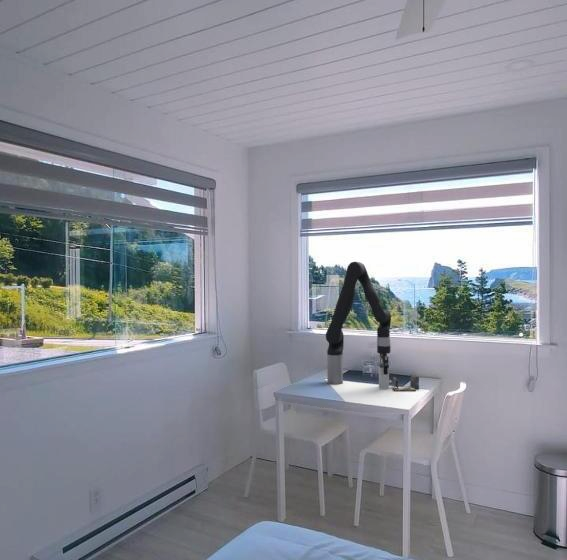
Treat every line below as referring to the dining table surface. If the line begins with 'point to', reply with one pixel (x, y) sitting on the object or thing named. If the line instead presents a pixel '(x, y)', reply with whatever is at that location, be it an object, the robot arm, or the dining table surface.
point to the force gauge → (383, 378)
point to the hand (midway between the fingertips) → (384, 372)
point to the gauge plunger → (395, 382)
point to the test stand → (413, 383)
